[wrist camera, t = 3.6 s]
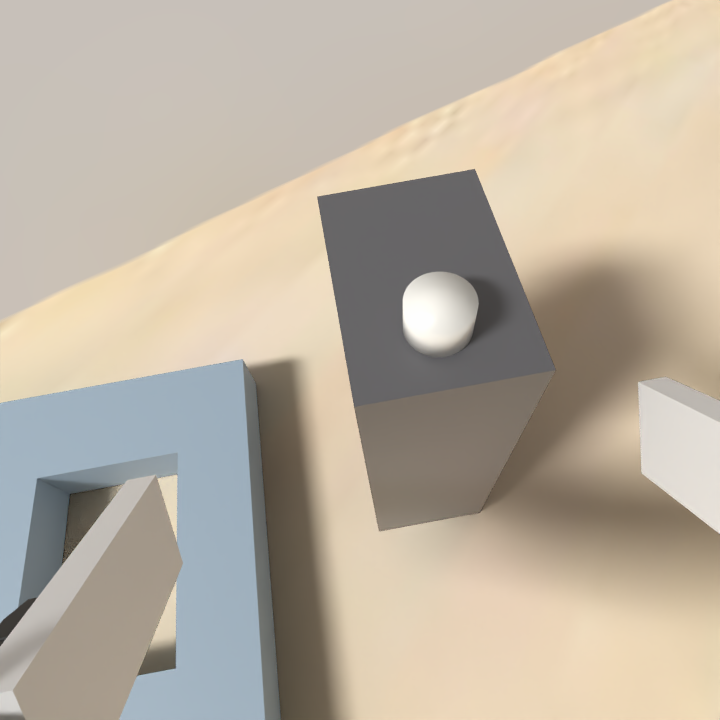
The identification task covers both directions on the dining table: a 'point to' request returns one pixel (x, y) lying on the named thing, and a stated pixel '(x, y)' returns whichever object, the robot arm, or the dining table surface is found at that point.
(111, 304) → the dining table surface
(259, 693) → the plate
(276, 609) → the dining table surface
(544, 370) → the servo block
